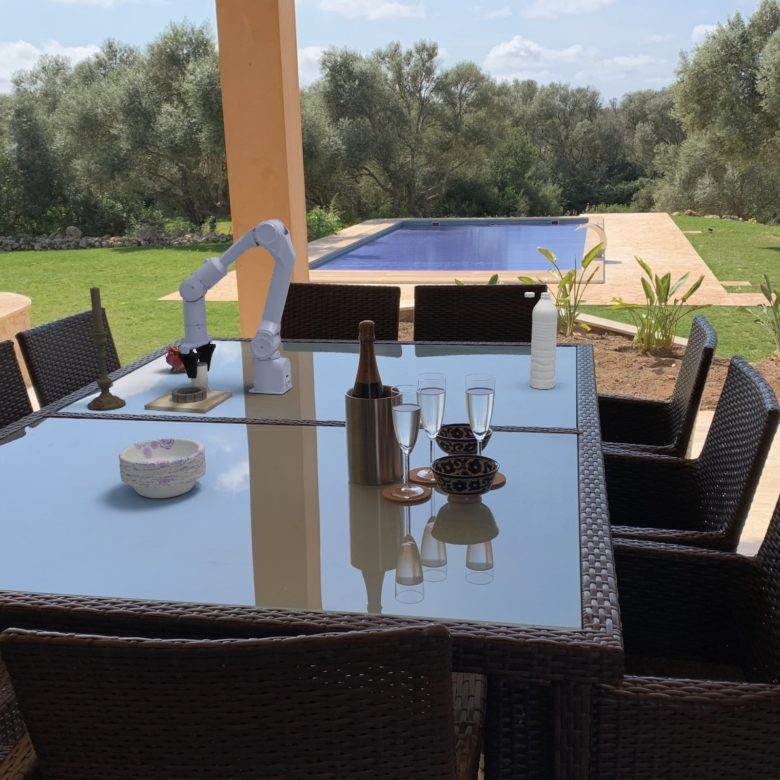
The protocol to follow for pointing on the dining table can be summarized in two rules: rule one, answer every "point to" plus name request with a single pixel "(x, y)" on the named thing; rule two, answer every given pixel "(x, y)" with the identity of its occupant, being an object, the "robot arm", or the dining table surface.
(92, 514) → the dining table surface
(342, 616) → the dining table surface
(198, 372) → the grey capped cylinder
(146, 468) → the paper bowls
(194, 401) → the tan square tray
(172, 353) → the flower
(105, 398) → the candlestick holder
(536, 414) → the dining table surface
